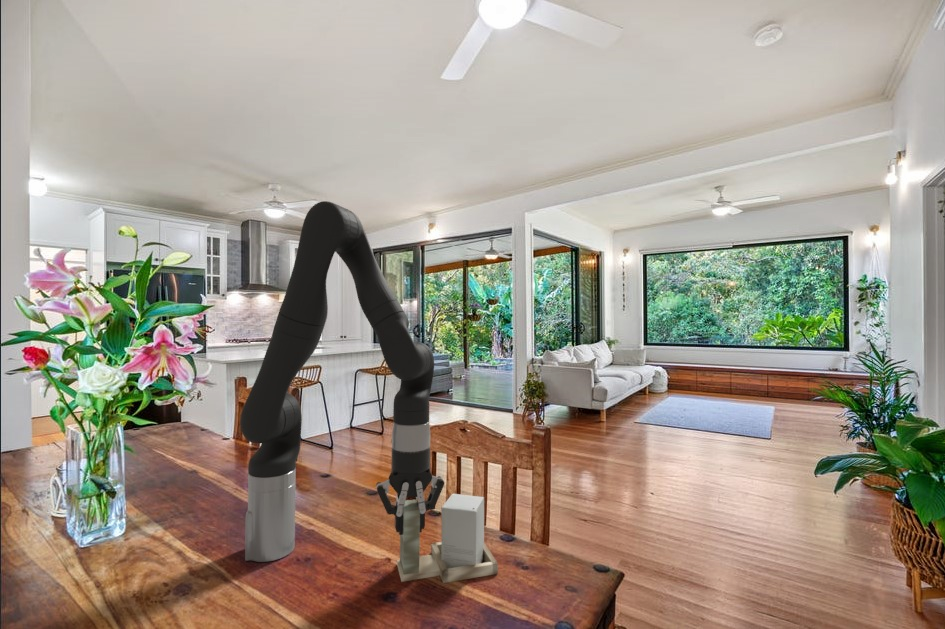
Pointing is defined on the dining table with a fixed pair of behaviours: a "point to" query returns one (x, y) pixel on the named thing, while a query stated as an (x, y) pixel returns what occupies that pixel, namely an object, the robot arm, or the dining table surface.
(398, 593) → the dining table surface
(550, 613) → the dining table surface
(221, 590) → the dining table surface
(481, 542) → the supplement box
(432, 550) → the tray with upright post
